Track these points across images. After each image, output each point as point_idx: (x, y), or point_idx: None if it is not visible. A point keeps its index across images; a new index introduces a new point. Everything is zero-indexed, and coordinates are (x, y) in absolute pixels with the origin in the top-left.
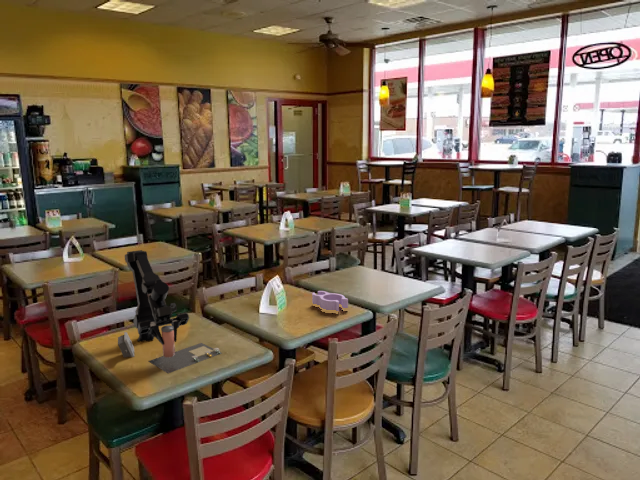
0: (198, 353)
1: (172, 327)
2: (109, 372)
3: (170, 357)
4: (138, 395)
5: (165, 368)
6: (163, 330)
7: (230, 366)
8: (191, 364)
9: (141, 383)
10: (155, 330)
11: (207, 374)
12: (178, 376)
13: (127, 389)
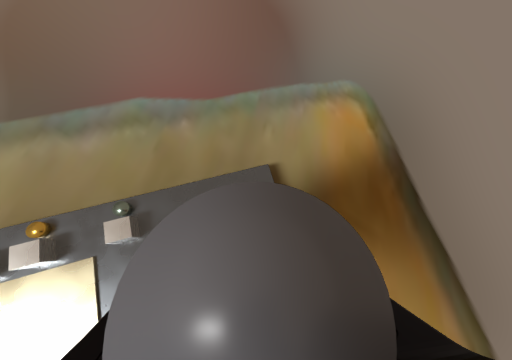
0: (71, 296)
1: (152, 268)
2: (468, 335)
3: None
4: (361, 110)
5: None
6: (347, 228)
7: (31, 130)
8: (161, 191)
9: (352, 174)
10: (476, 357)
11: (140, 119)
12: (232, 157)
13: (391, 158)
